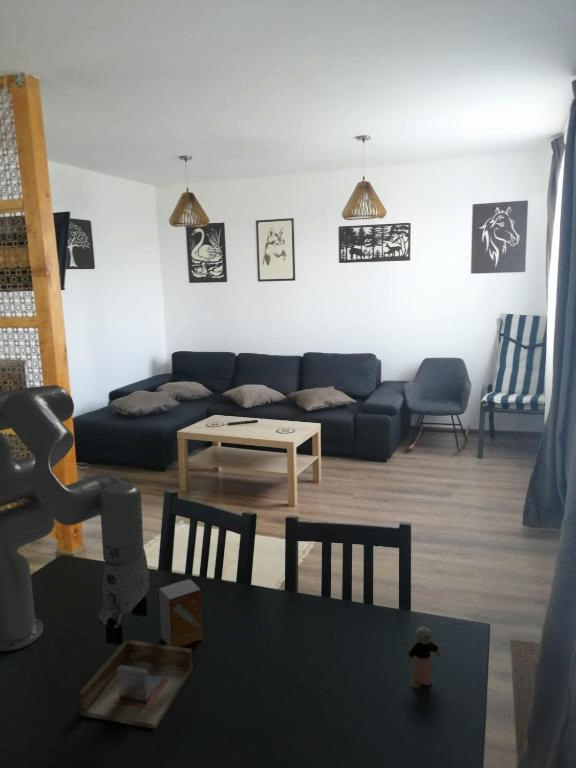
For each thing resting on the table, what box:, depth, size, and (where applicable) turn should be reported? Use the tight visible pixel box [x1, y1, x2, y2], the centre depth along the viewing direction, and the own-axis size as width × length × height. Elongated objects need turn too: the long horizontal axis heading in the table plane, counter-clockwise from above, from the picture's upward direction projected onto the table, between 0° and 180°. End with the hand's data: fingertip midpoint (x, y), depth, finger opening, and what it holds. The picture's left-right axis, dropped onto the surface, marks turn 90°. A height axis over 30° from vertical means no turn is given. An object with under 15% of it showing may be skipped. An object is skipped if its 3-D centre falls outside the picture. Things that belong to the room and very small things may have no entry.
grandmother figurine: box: [405, 626, 441, 689], centre depth 126 cm, size 8×4×13 cm, turn 118°
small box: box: [158, 578, 203, 648], centre depth 143 cm, size 8×6×13 cm
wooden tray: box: [78, 639, 194, 730], centre depth 126 cm, size 16×18×5 cm
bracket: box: [117, 665, 163, 705], centre depth 124 cm, size 7×6×7 cm
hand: (127, 628), depth 119 cm, fingers open, 9 cm apart
